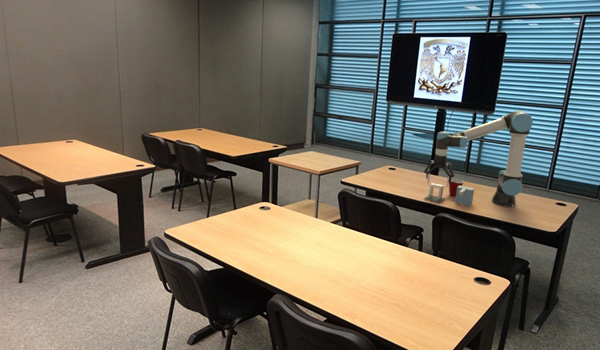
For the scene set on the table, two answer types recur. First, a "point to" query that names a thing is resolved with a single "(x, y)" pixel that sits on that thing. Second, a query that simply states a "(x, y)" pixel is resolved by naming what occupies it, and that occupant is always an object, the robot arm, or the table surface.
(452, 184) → the plastic cup
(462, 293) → the table surface
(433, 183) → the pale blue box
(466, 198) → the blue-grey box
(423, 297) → the table surface
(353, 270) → the table surface
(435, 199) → the rubber mat
